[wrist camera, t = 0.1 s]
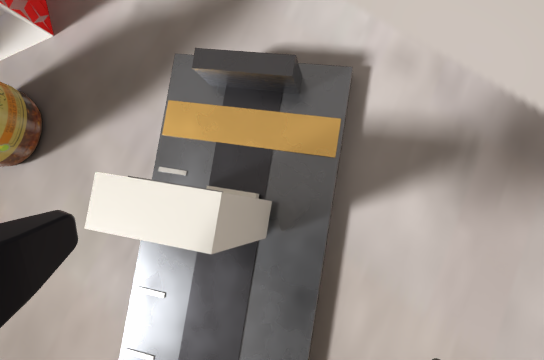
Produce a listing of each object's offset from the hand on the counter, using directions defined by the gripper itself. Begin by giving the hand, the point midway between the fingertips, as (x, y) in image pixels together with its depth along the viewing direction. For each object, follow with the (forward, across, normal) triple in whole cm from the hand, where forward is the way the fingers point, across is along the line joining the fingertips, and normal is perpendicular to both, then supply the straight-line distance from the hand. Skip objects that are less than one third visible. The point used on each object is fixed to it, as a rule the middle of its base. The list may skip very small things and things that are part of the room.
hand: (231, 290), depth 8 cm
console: (+12, +4, +9) cm, 16 cm away
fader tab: (+11, +5, +7) cm, 14 cm away
